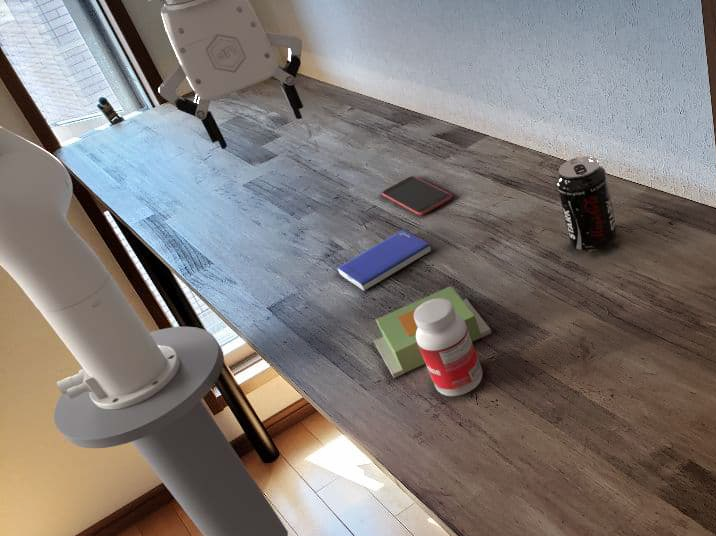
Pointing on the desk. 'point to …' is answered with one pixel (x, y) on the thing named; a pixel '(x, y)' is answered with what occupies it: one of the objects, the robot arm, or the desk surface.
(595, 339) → the desk surface
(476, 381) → the pill bottle
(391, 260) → the hard drive
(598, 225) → the beverage can
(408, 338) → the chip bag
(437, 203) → the smartphone
